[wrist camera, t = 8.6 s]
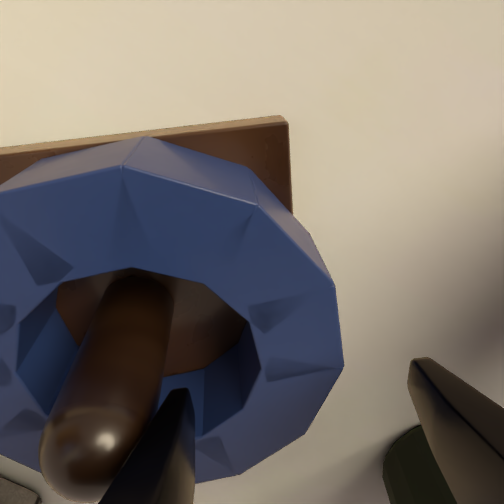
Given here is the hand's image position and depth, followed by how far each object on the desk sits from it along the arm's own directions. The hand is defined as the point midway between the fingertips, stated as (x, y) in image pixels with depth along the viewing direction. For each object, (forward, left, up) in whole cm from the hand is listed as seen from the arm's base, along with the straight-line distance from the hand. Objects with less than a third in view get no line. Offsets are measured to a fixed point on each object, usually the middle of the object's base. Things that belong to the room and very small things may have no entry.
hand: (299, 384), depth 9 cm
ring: (+4, 0, -4) cm, 6 cm away
